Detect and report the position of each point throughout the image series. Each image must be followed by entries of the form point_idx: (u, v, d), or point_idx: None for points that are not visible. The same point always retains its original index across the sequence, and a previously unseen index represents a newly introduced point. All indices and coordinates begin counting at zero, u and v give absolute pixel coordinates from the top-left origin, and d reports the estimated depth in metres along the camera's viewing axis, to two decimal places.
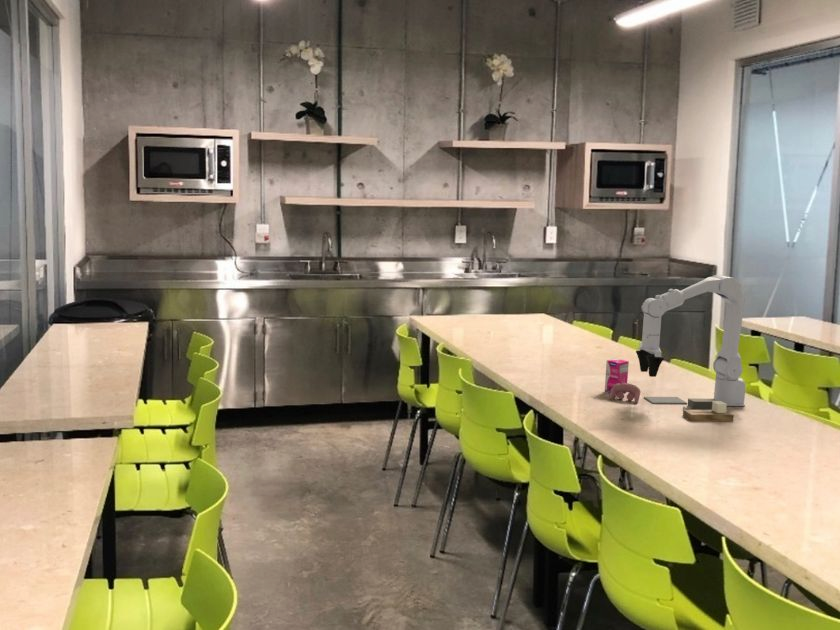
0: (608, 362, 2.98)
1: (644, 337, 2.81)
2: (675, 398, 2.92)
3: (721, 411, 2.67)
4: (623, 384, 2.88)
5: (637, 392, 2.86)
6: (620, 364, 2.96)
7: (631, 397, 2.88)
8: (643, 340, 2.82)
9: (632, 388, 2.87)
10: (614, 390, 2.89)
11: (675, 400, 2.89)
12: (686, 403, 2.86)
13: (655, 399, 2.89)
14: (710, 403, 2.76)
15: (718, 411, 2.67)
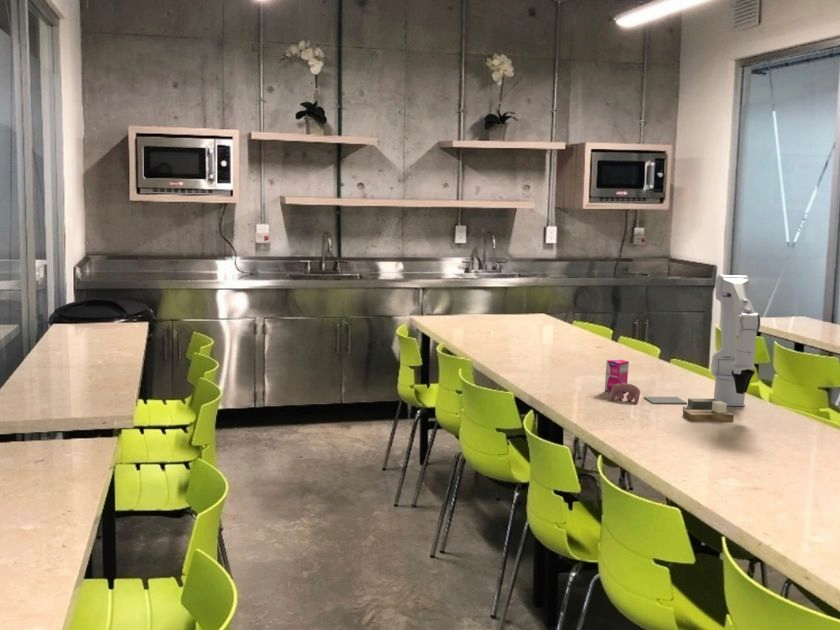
0: (608, 362, 2.98)
1: (735, 353, 2.67)
2: (675, 398, 2.92)
3: (721, 411, 2.67)
4: (623, 385, 2.88)
5: (637, 392, 2.86)
6: (620, 364, 2.95)
7: (631, 397, 2.87)
8: (735, 356, 2.68)
9: (632, 388, 2.87)
10: (614, 390, 2.89)
11: (675, 400, 2.89)
12: (686, 403, 2.86)
13: (655, 399, 2.89)
14: (710, 403, 2.76)
15: (718, 411, 2.67)
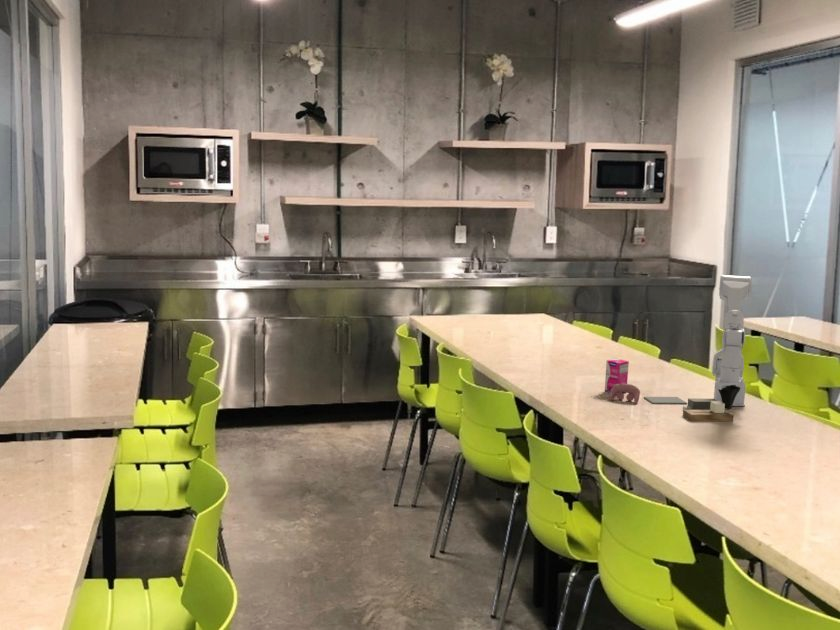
0: (608, 362, 2.98)
1: (721, 368, 2.68)
2: (675, 398, 2.92)
3: (719, 411, 2.67)
4: (623, 385, 2.88)
5: (637, 392, 2.85)
6: (620, 364, 2.95)
7: (631, 398, 2.87)
8: None
9: (632, 388, 2.86)
10: (614, 391, 2.88)
11: (675, 400, 2.89)
12: (686, 403, 2.86)
13: (655, 399, 2.89)
14: (710, 403, 2.76)
15: (716, 411, 2.66)
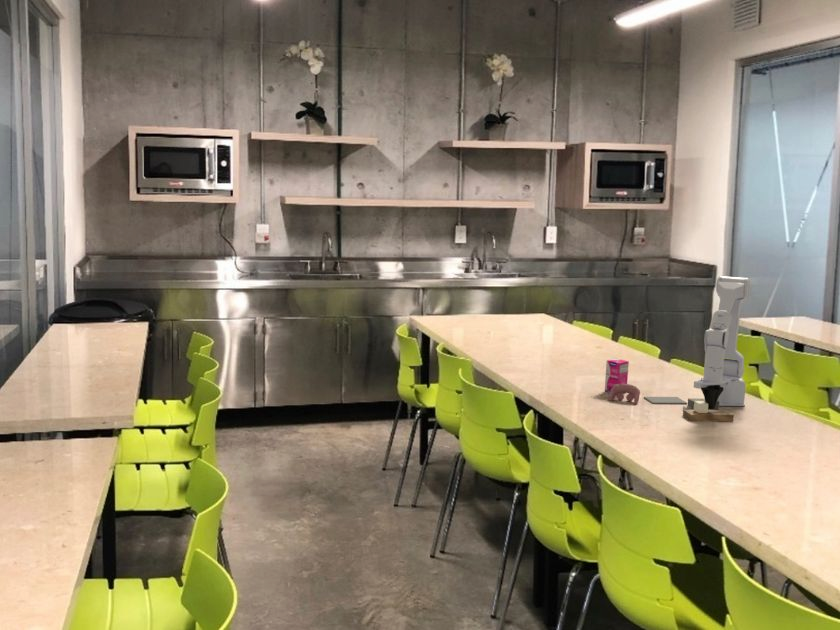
0: (608, 362, 2.98)
1: None
2: (675, 398, 2.92)
3: (703, 411, 2.66)
4: (622, 385, 2.87)
5: (637, 393, 2.85)
6: (620, 364, 2.96)
7: (631, 398, 2.87)
8: None
9: (632, 389, 2.86)
10: (614, 391, 2.88)
11: (675, 400, 2.89)
12: (686, 403, 2.86)
13: (655, 399, 2.89)
14: None
15: (700, 411, 2.66)
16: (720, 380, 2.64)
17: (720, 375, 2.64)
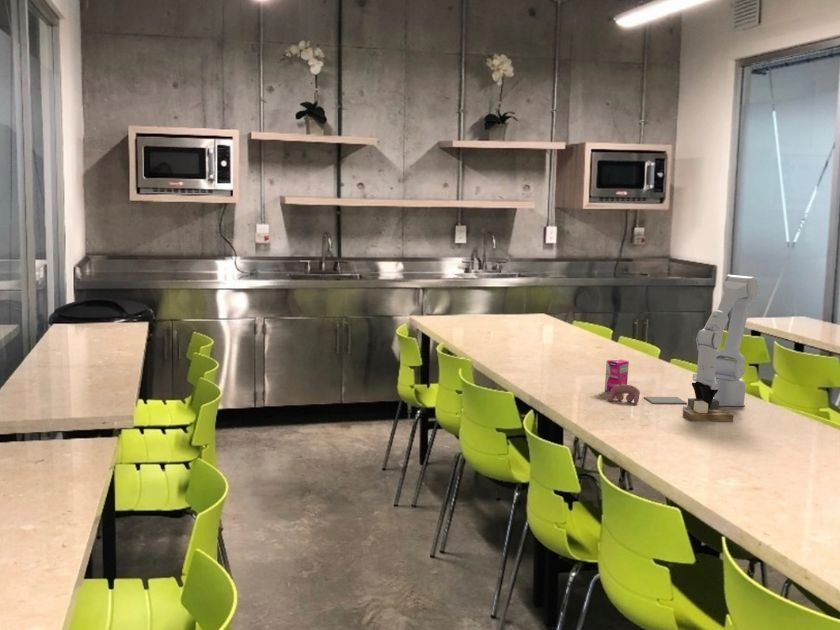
0: (608, 362, 2.98)
1: (699, 369, 2.75)
2: (675, 398, 2.92)
3: (703, 411, 2.66)
4: (622, 385, 2.87)
5: (636, 393, 2.84)
6: (620, 364, 2.96)
7: (630, 398, 2.86)
8: (698, 372, 2.76)
9: (631, 389, 2.85)
10: (613, 391, 2.87)
11: (675, 400, 2.89)
12: (686, 403, 2.86)
13: (655, 399, 2.89)
14: None
15: (699, 411, 2.66)
16: None
17: None
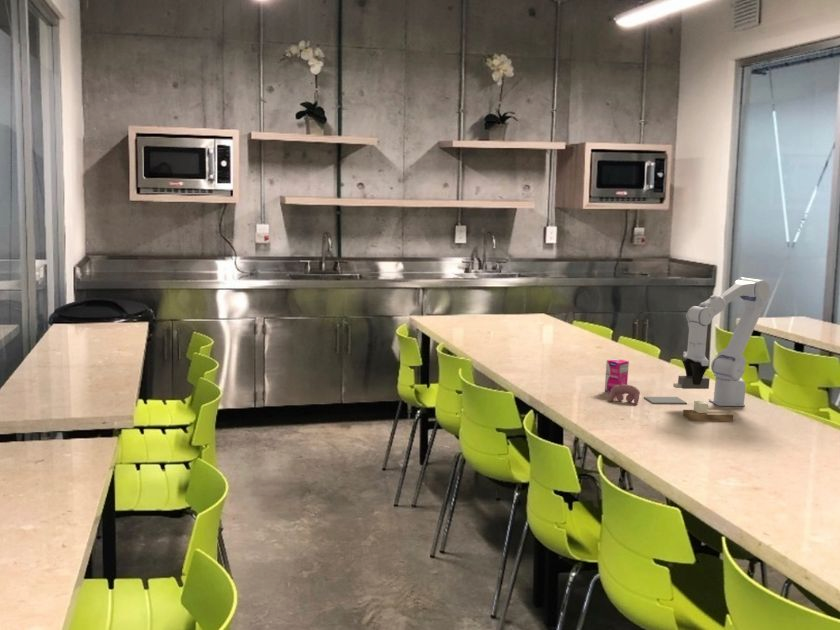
0: (608, 362, 2.98)
1: (690, 346, 2.77)
2: (675, 398, 2.92)
3: (703, 411, 2.66)
4: (622, 386, 2.86)
5: (636, 393, 2.84)
6: (620, 364, 2.95)
7: (630, 398, 2.86)
8: (689, 349, 2.78)
9: (631, 389, 2.85)
10: (613, 391, 2.87)
11: (675, 400, 2.89)
12: (686, 403, 2.86)
13: (655, 399, 2.89)
14: None
15: (699, 411, 2.66)
16: None
17: None
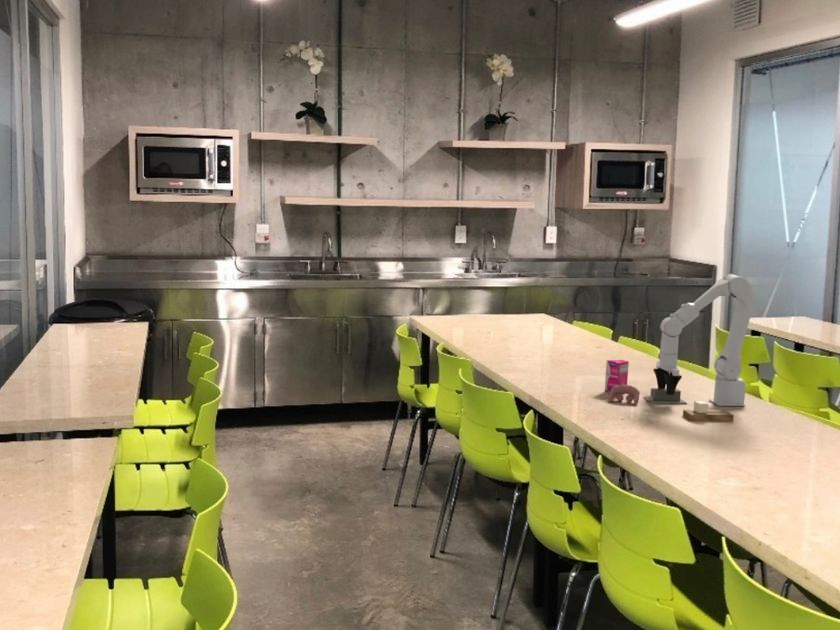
0: (608, 362, 2.98)
1: (662, 356, 2.86)
2: None
3: (703, 411, 2.66)
4: (622, 386, 2.86)
5: (636, 394, 2.83)
6: (620, 364, 2.96)
7: (630, 399, 2.85)
8: (661, 359, 2.86)
9: (631, 390, 2.85)
10: (613, 392, 2.86)
11: None
12: (686, 403, 2.86)
13: None
14: None
15: (699, 411, 2.66)
16: None
17: None
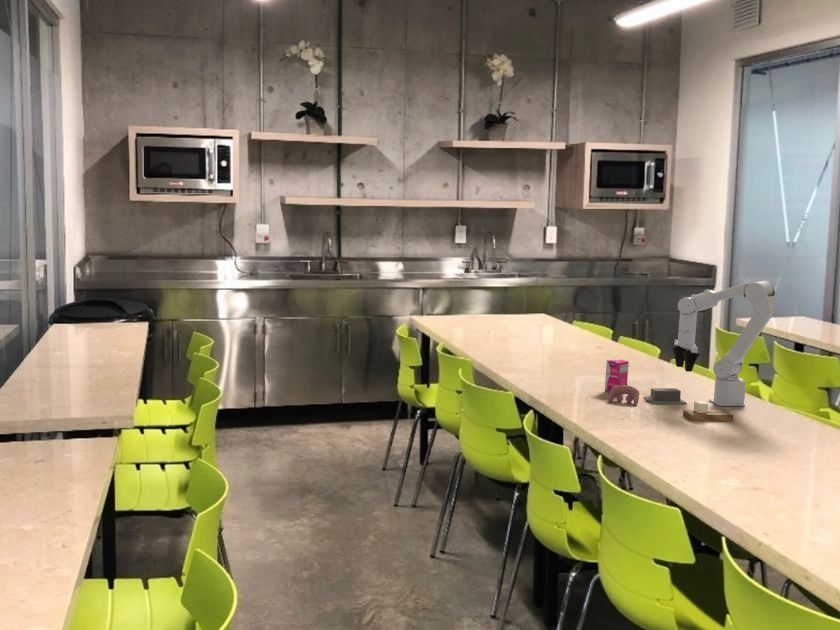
0: (608, 362, 2.98)
1: (680, 334, 2.95)
2: None
3: (703, 411, 2.66)
4: (622, 386, 2.85)
5: (636, 394, 2.83)
6: (620, 364, 2.96)
7: (630, 399, 2.85)
8: (679, 337, 2.96)
9: (631, 390, 2.84)
10: (613, 392, 2.86)
11: None
12: (686, 403, 2.86)
13: None
14: (672, 392, 2.87)
15: (699, 411, 2.66)
16: None
17: None
